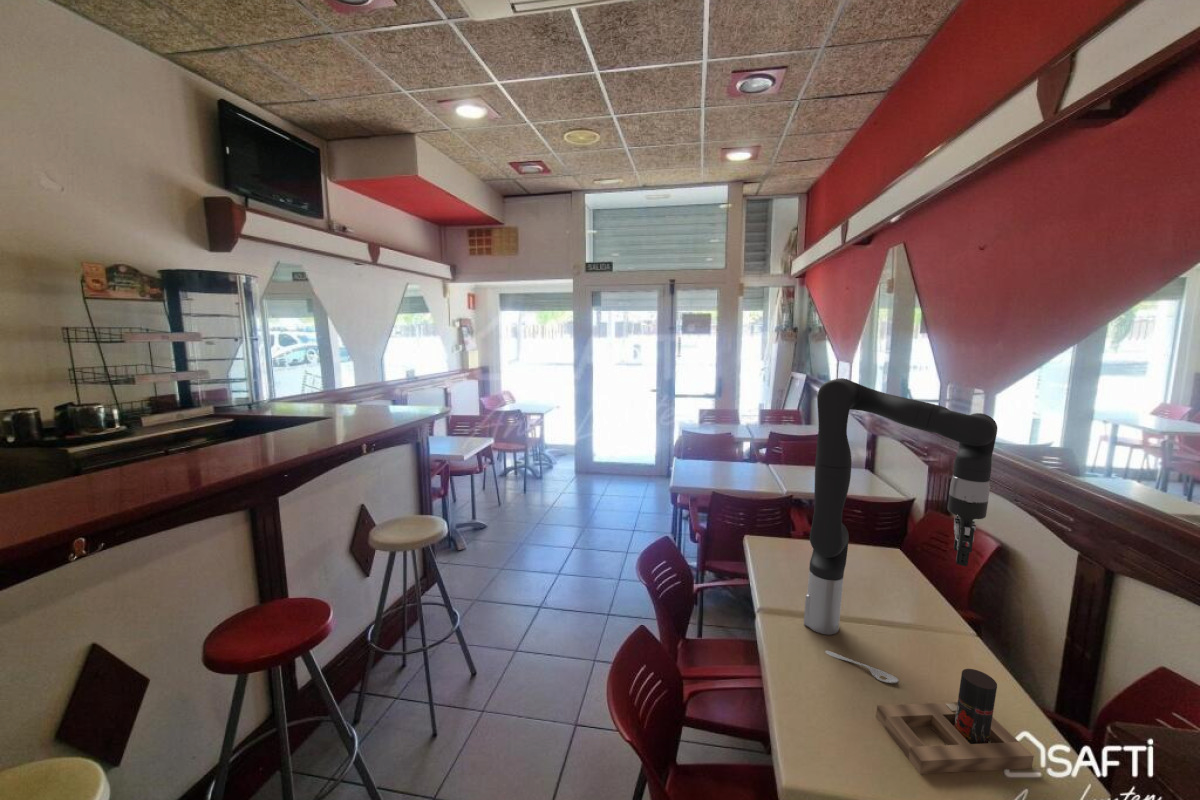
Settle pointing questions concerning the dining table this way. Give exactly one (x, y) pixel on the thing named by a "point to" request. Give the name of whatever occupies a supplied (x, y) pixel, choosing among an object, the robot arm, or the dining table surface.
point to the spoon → (874, 671)
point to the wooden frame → (950, 741)
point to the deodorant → (975, 706)
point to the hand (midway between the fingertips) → (960, 557)
